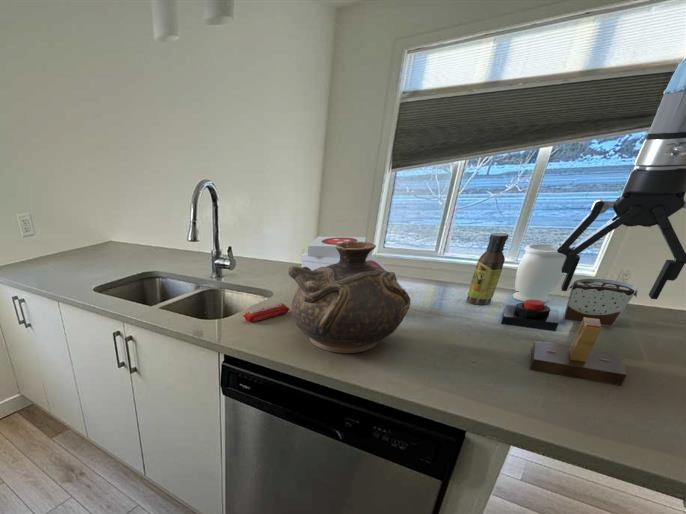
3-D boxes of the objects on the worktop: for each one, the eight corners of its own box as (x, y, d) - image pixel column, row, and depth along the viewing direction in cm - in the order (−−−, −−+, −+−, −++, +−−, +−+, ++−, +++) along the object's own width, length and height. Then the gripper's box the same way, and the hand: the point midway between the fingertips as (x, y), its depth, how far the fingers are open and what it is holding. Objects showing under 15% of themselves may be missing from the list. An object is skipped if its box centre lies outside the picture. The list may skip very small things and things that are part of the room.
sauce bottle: (462, 299, 125) (481, 231, 115) (485, 299, 123) (507, 230, 113) (470, 306, 120) (491, 236, 110) (494, 306, 118) (518, 235, 108)
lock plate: (614, 363, 86) (620, 351, 85) (621, 385, 79) (627, 374, 78) (530, 350, 94) (535, 339, 93) (529, 369, 87) (534, 358, 85)
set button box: (554, 318, 108) (560, 303, 106) (555, 331, 101) (561, 316, 99) (503, 312, 114) (508, 298, 112) (500, 324, 107) (505, 309, 105)
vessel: (265, 342, 109) (272, 246, 98) (326, 319, 124) (338, 233, 112) (359, 374, 90) (380, 259, 78) (418, 342, 104) (443, 241, 93)
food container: (620, 320, 104) (639, 281, 99) (620, 328, 100) (640, 288, 95) (556, 311, 111) (571, 275, 106) (555, 319, 107) (570, 282, 102)
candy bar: (248, 324, 121) (248, 315, 120) (241, 320, 124) (241, 311, 123) (291, 313, 127) (291, 303, 125) (283, 309, 130) (284, 300, 128)
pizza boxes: (377, 317, 118) (388, 255, 109) (290, 298, 138) (294, 244, 129) (406, 300, 128) (418, 241, 119) (321, 284, 149) (326, 233, 140)
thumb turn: (569, 349, 88) (584, 316, 84) (584, 351, 86) (600, 317, 83) (569, 359, 84) (585, 325, 80) (585, 362, 83) (602, 327, 79)
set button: (542, 307, 106) (545, 300, 105) (542, 311, 103) (545, 305, 102) (523, 304, 108) (525, 298, 107) (522, 309, 106) (525, 303, 105)
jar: (501, 293, 126) (517, 244, 119) (539, 292, 124) (558, 242, 117) (519, 304, 117) (537, 252, 110) (560, 304, 115) (582, 250, 108)
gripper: (569, 172, 72) (526, 291, 83) (791, 164, 58) (705, 307, 69) (568, 169, 77) (527, 281, 88) (772, 161, 63) (694, 294, 74)
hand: (606, 293), depth 78 cm, fingers open, 12 cm apart
